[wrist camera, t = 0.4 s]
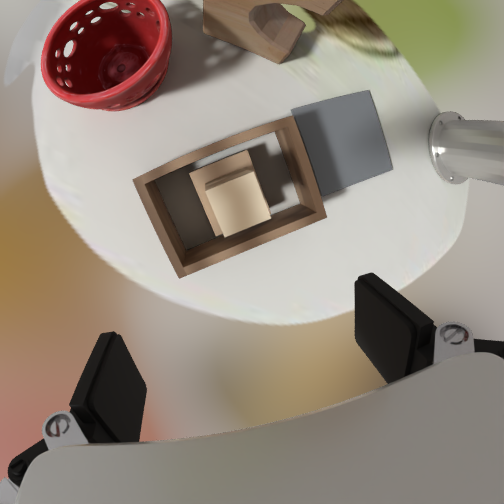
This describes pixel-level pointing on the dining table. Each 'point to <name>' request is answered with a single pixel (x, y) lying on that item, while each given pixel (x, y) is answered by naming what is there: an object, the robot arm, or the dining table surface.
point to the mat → (342, 141)
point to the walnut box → (220, 246)
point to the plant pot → (108, 54)
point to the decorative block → (260, 24)
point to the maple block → (237, 201)
